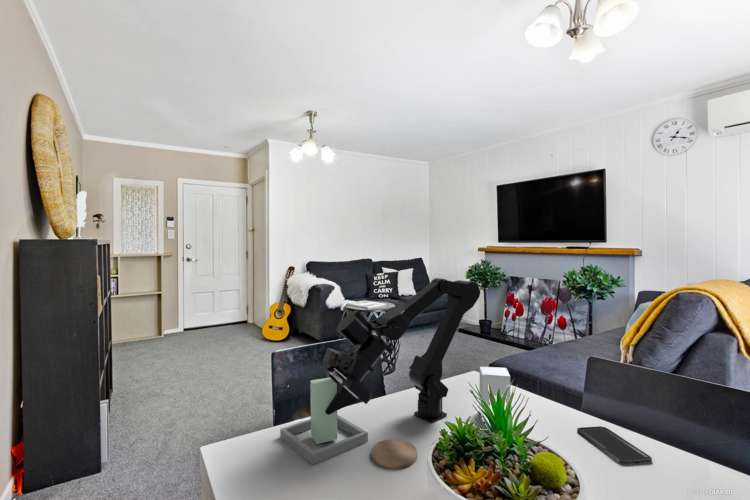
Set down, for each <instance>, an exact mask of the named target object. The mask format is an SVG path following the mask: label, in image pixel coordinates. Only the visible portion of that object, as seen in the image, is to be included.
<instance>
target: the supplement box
mask: <svg viewBox="0 0 750 500" xmlns="http://www.w3.org/2000/svg"><path fill="white" fill-rule="evenodd" d="M488 384H490V386H491V389H492V392H493V394H494V395H495V396H496V395H497V390H498V386H499V389H500V393H501V395H503V394H504V392H505V390H506V388H507V385H509V384H510V385H511V375H510V373H509V370H508V368H507V367H497V366H495V367H494V366H479V394H480V393H481V395H482V397H483V398H484V400H485V401H486V402H487V404H488V405H489V406H490V402H489V396H488ZM509 398H510V399H511V387H510V388H509V391H508V394H507V398H506V403H507V402H508V400H509ZM478 407H480V405H479V406H478ZM479 416H480V421H481V422H482V423H484V421H483V419H482V417H481V415H480V414H479Z"/></svg>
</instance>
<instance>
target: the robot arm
mask: <svg viewBox="0 0 750 500" xmlns="http://www.w3.org/2000/svg"><path fill="white" fill-rule="evenodd" d="M446 294H447V306H446V309H445V311H444V314H443V316H442V318H441V320H440V322H439V324H438V326H437V328H436V331H435V333H434V335H433V336H432V339H431V340H430V343H429V345H428V348H427V350H426V351H425V353H424V354H422V355H421V356H419V355H415V356H414V358H413V362H412V364H411V365H410V366H409V367H408V369H409V373H408V377H409V380H410V382H411V383H412V384H413V385H414V388H415V389H416V390H418V391H419V392H418V394H417V395H418V396H417V397H418V399H417V411H414V412H413V415H414V416H416V417H419V418H421V419H423V420H426V421H427V422H429V423H434V422H436V421H438V420H441V419H442V418H444V417H445V418H446V417H447V415H448V413H446V412H445V411H443V398H446V397H447V395H448V393H449V388H448V387H447V385H445V383H443V382H442V381H441V380H442V377H443V361H444V358H445V356H446V354H447V352H448V350H449V347H450V346H451V343H452V341H453V338H454V337H455V335H456V332H457V330H458V328H459V326H460V323H461V322H462V319H463V317H464V315H465V314H466V313H467V312H468V311H470V310H471V309H473V307H474V306H475V304H476V303H477V302H478V300H479V299H480V297H481V290H480V286H479V284H477V283H476V282H474V281H468V280H461V279H460V280H459V279H457V280H454V281H451V280H448V279H446V278H441V277H440V278H438V277H436V278H434V279H433V278H432V280H431V281H430V282H429V283H428V284H427V285H426V286H424V287H423V288H422V289H420V290H419V291H418V292H417V293H416V294H414V295H413V296H412V297H411V298H409V299H408V300H407V301H406V302H404V303H403V304H402V305H400V306H399V307H396V308H393V309H389V310H388V311H386V312H384V313H383V314H381V315H379V316H378V317H377V318H376V319H372V320H367V319H366V318H365V317H364V316H363V314H362V313H361V312H360V311H358V310H356V309H355V310H353V312H352V313H350V314H348V315H346V316H344V317H343V318H341V320H340V321H339V322H338V324H337V328H336V331H337V332H338V333H340V335H342V336H343V337H344V339H346V340H347V341H348V343H350V344H351V345H353V346H358V345H359V346H358V347H357V348H356V349H355V350H354V351H353V350H349V351H348V352H344V351H343V350H340V351H338V350H336V349H332V348H329V347H328V348H327V350H326V352H325V354H324V357H323V359H322V361H323V362H325V364H324V365H323V367H324V368H325V369H326V370H327V371H325V372H326V373H325V374H326V378H331V379H332V380H333V381H334V382H335V383H336V384H337V394H336V395H335V397H334V398H333V400H332V401H331V403H330V404H329V406H328V408H327V409H326V411H325V413H326V414H328V415H330V414H331V413H333V412H335V411H337V412H338V411H339V410H341V409H343V408H345V407H347V406H349V405H352V404H354V403H356V402H357V403H359V402H360V401H362V403H364V404H365V405H368V404H369V402H370V400H371V399H372V391H371V390H370V389H368V387H366V386H365V385H364V382H362V381H363V379H364V378H365V377H366V375H367V374H368V373H369V372H370V373H371V374H372V373H373V372H374V370H375V369H374V368H373V366H374V365H375V364H376V363H377V361H378V360H379V359H380V357H381V356H382V355H383V353H384V352H385V353H388V354H389V355H393V353H394V352H393V351H394V350H393V343H392V342H390V341H398V340H399V339H401V337H403V335H405V333H406V332H407V331H408V330H409V328H410V326H411V324H412V323H413V320H415V319H416V318H417V317H418V316H419V315H420V314H422V313H423V312H424V311H426V310H427V309H428V308H429V307H430V306H431V305H432V304H434V303H435V302H436V301H438V300H439V298H441V297H442V296H444V295H446ZM372 332H373V333H375V334H376V335H374V334H373V333H372ZM381 336H382V337H383V338H382V337H381ZM384 338H385V339H388V340H390V341H386V340H384Z"/></svg>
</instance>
